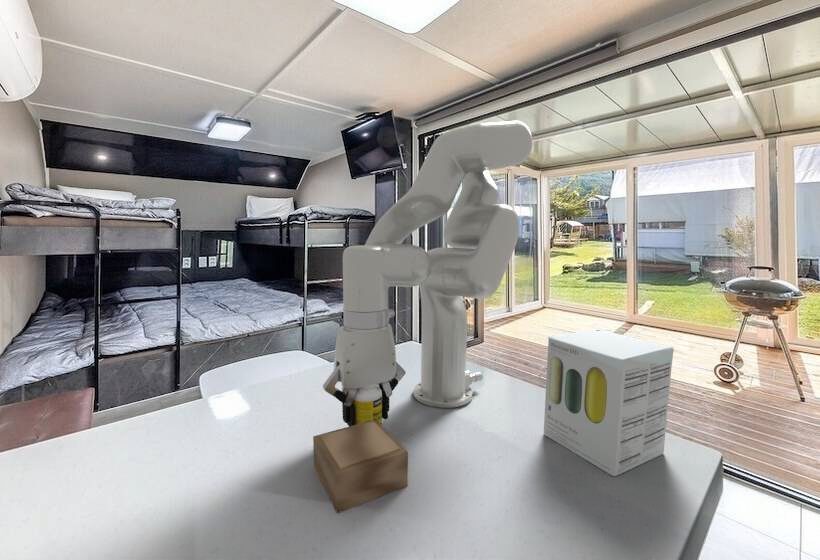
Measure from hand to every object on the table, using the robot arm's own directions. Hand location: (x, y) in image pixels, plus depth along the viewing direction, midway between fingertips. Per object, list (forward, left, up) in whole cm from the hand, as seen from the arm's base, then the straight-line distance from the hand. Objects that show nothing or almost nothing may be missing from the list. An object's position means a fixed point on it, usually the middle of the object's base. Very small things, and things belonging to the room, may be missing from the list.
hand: (366, 419), depth 64 cm
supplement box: (-32, +23, -2) cm, 39 cm away
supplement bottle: (0, 0, -2) cm, 2 cm away
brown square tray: (+6, +11, -2) cm, 13 cm away
